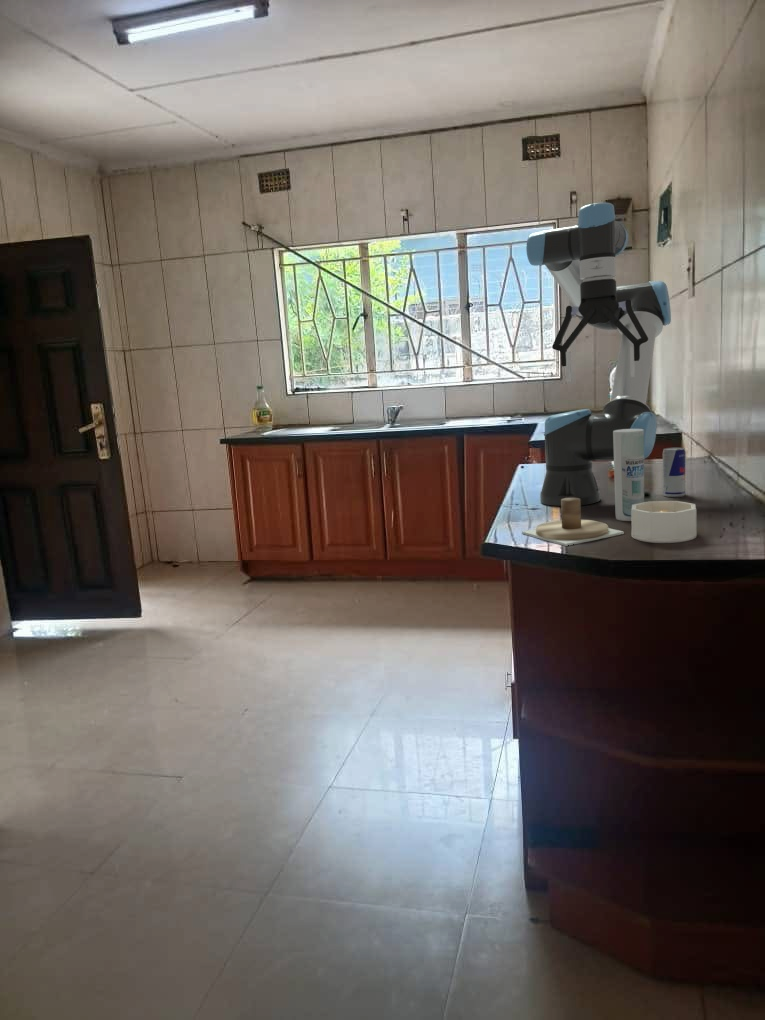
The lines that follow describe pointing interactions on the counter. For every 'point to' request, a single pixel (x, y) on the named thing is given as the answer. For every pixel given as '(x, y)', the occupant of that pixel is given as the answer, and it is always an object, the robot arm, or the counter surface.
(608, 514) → the counter surface
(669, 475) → the energy drink
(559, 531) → the lid
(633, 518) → the bowl
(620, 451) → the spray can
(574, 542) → the mat
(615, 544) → the counter surface
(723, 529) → the counter surface
